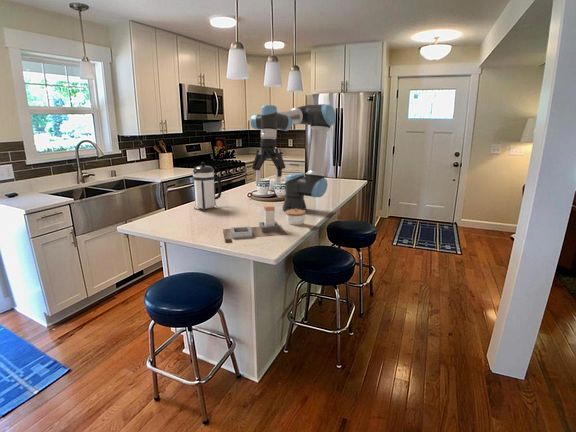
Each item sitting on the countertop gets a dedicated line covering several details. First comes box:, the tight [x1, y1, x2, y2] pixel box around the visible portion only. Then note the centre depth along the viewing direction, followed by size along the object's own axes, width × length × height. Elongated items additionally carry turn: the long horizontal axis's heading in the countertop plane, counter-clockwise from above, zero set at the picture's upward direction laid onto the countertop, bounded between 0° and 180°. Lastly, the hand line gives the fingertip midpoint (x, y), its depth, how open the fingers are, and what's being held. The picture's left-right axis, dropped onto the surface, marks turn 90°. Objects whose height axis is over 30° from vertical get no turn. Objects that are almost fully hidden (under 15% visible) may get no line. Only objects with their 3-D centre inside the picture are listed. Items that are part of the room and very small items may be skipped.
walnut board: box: [222, 224, 288, 243], centre depth 166 cm, size 30×16×2 cm, turn 104°
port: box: [229, 225, 253, 240], centre depth 161 cm, size 10×10×2 cm
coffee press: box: [192, 161, 222, 212], centre depth 214 cm, size 17×16×30 cm
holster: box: [258, 220, 280, 232], centre depth 171 cm, size 9×9×2 cm
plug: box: [263, 204, 276, 227], centre depth 169 cm, size 4×4×12 cm
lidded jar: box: [285, 208, 306, 226], centre depth 181 cm, size 11×11×9 cm
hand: (267, 183), depth 162 cm, fingers open, 13 cm apart
